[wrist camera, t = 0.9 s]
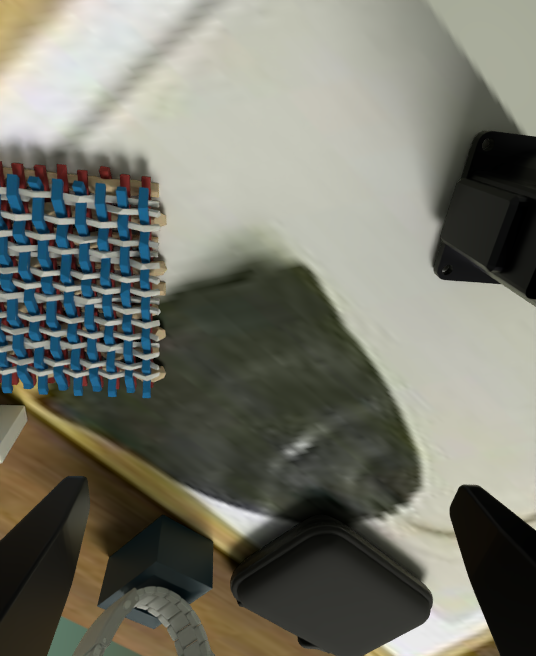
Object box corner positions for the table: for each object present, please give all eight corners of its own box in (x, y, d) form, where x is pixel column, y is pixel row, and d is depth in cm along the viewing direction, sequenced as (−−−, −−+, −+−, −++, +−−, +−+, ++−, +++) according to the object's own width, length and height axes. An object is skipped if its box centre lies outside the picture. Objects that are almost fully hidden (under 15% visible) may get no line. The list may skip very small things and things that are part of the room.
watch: (181, 591, 31) (163, 812, 22) (86, 547, 28) (15, 784, 18) (235, 552, 30) (241, 771, 20) (141, 501, 26) (96, 734, 17)
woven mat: (170, 170, 18) (164, 178, 16) (167, 378, 23) (163, 402, 21) (-106, 140, 17) (-145, 145, 15) (-45, 369, 21) (-69, 394, 20)
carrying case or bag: (206, 570, 31) (329, 637, 37) (205, 615, 28) (337, 680, 34) (321, 493, 28) (433, 580, 34) (331, 535, 26) (451, 620, 32)
